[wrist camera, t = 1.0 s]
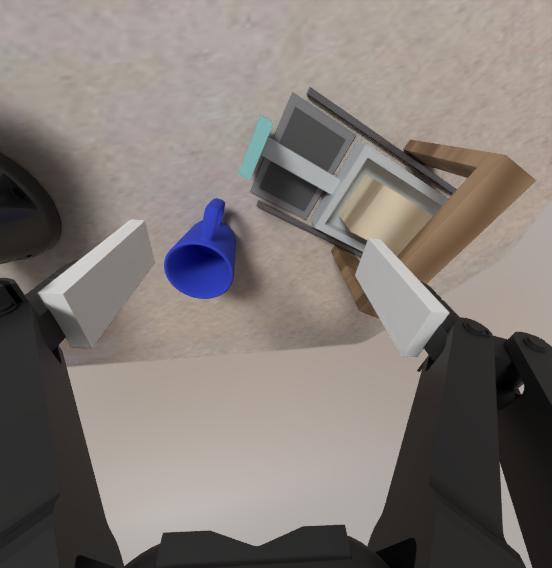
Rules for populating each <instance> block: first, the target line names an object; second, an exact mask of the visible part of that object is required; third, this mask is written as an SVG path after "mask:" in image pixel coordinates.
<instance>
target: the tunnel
mask: <svg viewBox="0 0 552 568" xmlns="http://www.w3.org/2000/svg"><path fill="white" fill-rule="evenodd" d="M403 150H405V151H406V152H408V153H409V154H410V155H412V156H413V157H415V158H416V159H417V160H419V161H420V162H422V163H423V164H425V165H427V166H430V167H433V168H437V169H440V170H443V171H447V172H450V173H453V174H456V175H460V176H463V177H466V178H467V179H466V180H465V182H464V183H463V184H462V185H461V186H460V187H459V188H458V189H457V190H456V191H455V193H454V194H453V195H452V196H451V197H450V198H449V199H448V200H447V201H446V203H445V204H444V205H443V206H442V207H441V208H440V209H439V210H438V211H437V212H436V214H435V215H434V216H433V217H432V218H431V219H430V220H429V221H428V222H427V224H426V225H425V226H424V227H423V228H422V229H421V230H420V231H419V232H418V234H417V235H416V236H415V237H414V238H413V239H412V240H411V241H410V242H409V243H408V245H407V246H406V247H405V248H404V249H403V250H402V251H401V252H400V253H399V255H398V256H397V258H398V259H399V260H400V261H401V262H402V263H403V264H404V265H405V266H406V267H407V268H408V269H409V270H410V271H411V272H412V273H413V274H414V276H415V277H416V278H417V279H418V280H420V281H422V282H424V283H425V284H427V283H428V282H429V281H430V280H431V279H432V278H433V277H434V276H435V275H436V274H437V273H438V272H440V271H441V270H442V269H443V268H444V267H445V266H446V265H447V264H448V263H449V262H450V261H451V260H452V259H453V258H454V257H456V256H457V255H458V254H459V253H460V252H461V251H462V250H463V249H464V248H465V247H466V246H467V245H468V244H469V243H470V242H472V241H473V240H474V239H475V238H476V237H477V236H478V235H479V234H480V233H481V232H482V231H483V230H484V229H485V228H486V227H488V226H489V225H490V224H491V223H492V222H493V221H494V220H495V219H496V218H497V217H498V216H499V215H500V214H501V213H502V212H504V211H505V210H506V209H507V208H508V207H509V206H510V205H511V204H512V203H513V202H514V201H515V200H516V199H517V198H518V197H520V196H521V195H522V194H523V193H524V192H525V191H526V190H527V189H528V188H529V187H530V186H531V185H532V184H533V183H534V182H536V180H535V179H534V178H533V177H532V176H530V175H529V174H528V173H527V172H526V171H524V170H523V169H522V168H521V167H520V166H518V165H517V164H516V163H515V162H514V161H512V160H511V159H510V158H509V157H508V156H506V155H502V154H496V153H490V152H483V151H477V150H471V149H465V148H458V147H452V146H446V145H440V144H434V143H427V142H421V141H415V140H410V141H409V142H408V144H407V145H406V146H405V148H404V149H403ZM331 252H332V254H333V256H334V258H335V260H336V262H337V264H338V267H339V269H340V271H341V273H342V275H343V277H344V279H345V281H346V283H347V286H348V288H349V290H350V292H351V294H352V296H353V298H354V300H355V303H356V305H357V307H358V309H359V311H361V312H364V313H366V314H369V315H371V316H374V317H376V318H378V319H380V318H379V316H378V315H377V313H376V311H375V309H374V308H373V306H372V304H371V302H370V301H369V299H368V297H367V296H366V294H365V292H364V290H363V289H362V287H361V285H360V283H359V282H358V280H357V278H356V276H355V274H356V271H357V268H358V265H359V263H360V262H359V260H358V258H357V257H356V255H355V254H353V253H351V252H349V251H347V250H345V249H343V248H341V247H338V246H336V245H335V246H334V248H333V249H332V250H331Z"/></svg>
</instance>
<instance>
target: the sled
mask: <svg viewBox="0 0 552 568" xmlns="http://www.w3.org/2000/svg"><path fill="white" fill-rule="evenodd" d="M272 125H273V123H272V122H271V121H270V120H268V119H267V118H265V117H263V116H260V118H259V120H258V123H257V126H256V128H255V131H254V134H253V136H252V139H251V141H250V144H249V147H248V149H247V152H246V155H245V157H244V160H243V163H242V165H241V168H240V170H239V173H238V174H239V175H241V176H243V177H245V178H247V179H249V180H250V179H251V176H252V174H253V171H254V169H255V167H256V164H257V162H258V159H259V157H260V155H261V156H263V157H265V158H267V159H269V160H270V161H272V162H274V163H276V164H278V165H279V166H281V167H283V168H285V169H286V170H288V171H290V172H292V173H294V174H295V175H297V176H299V177H301V178H302V179H304V180H306V181H308V182H310V183H311V184H313V185H315V186H317V187H319V188H320V189H322V190H324V191H326V192H327V193H326V195H325V197H324V198H323V200H322V201H321V203H320V205H319V206H318V208H317V210H316V211H315V213H314V215H313V216H312V218H311V221H312V223H313V226H314V228H316V229H318V230H320V231H322V232H324V233H326V234H328V235H330V236H332V237H334V238H336V239H338V240H340V241H342V242H344V243H346V244H348V245H350V246H352V247H354V248H356V249H358V250H360V251H362V252H364V249H365V246H366V243H367V240H366V239H364V238H362V237H360V236H358V235H356V234H354V233H352V232H351V231H350V230H349V229H348V227H347V226H346V224H345V223H344V222H343V220H342V219H341V218H340V216H339V214H340V212H341V211H342V209H343V208H344V206H345V205H346V203H347V202H348V200H349V199H350V197H351V196H352V194H353V193H354V191H355V190H356V188H357V187H358V185H359V184H360V182H361V181H362V179H363V178H364V176H365V175H368V176H370V177H371V178H373V179H375V180H377V181H378V182H380V183H382V184H383V185H385V186H387V187H388V188H390V189H391V190H393V191H395V192H396V193H398V194H399V195H401V196H403V197H404V198H406V199H407V200H409V201H411V202H412V203H414V204H415V205H417V206H419V207H420V208H422V209H423V210H425V211H427V212H428V213H430V214H432V215H433V216H434V215H435V214H436V212H437V211H438V210H439V209H440V208H441V207H442V206H443V205H444V204H445V203H446V201H447V200H448V198H446V197H445V196H443V195H442V194H440V193H439V192H438V191H436V190H435V189H433V188H432V187H430V186H429V185H427V184H426V183H424V182H423V181H421V180H420V179H418V178H417V177H415V176H414V175H412V174H411V173H409V172H408V171H406V170H405V169H403V168H402V167H400V166H399V165H397V164H396V163H394V162H393V161H391V160H390V159H388V158H387V157H385V156H384V155H382V154H381V153H379V152H378V151H376V150H375V149H373V148H372V147H370V146H369V145H367V144H365V143H361V142H357V144H356V145H355V147H354V149H353V150H352V152H351V154H350V155H349V157H348V158H347V160H346V162H345V163H344V165H343V167H342V168H341V170H340V172H339V173H338V175H337V177H336V176H334V175H332V174H330V173H329V172H327V171H325V170H324V169H322V168H320V167H319V166H317V165H315V164H314V163H312V162H310V161H308V160H307V159H305V158H303V157H302V156H300V155H298V154H297V153H295V152H293V151H292V150H290V149H288V148H286V147H285V146H283V145H281V144H280V143H278V142H276V141H275V140H273V139H271V138H270V137H268V135H269V133H270V130H271V128H272Z"/></svg>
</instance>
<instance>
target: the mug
mask: <svg viewBox="0 0 552 568" xmlns="http://www.w3.org/2000/svg"><path fill="white" fill-rule="evenodd" d="M224 208H225V202H224V201H223V200H221V199H217V198H216V199H213V200H212V201H211V202H210V203H209V204H208V205H207V206H206V208H205V212H204V218H203V221H200V222H198V223H197V224H195V225H194V226H193V227H192V228H191V229H190V230H189V231H188V232H187V233H186V234H185V235H184V236H183V237H182V238H181V239H180V240H179V241H178V242H177V243H176V244H175V245H174V246H173V248H172V249H171V250H170V251H169V252H168V253H167V255H166V258H165V262H164V269H165V273H166V276H167V278H168V280H169V281H170V282H171V284H172V285H173V286H174V287H175V288H176V289H178V290H179V291H180V292H182V293H184V294H186V295H188V296H191V297H194V298H200V299H209V298H214V297H217V296H220V295H221V294H223V293H224V292H226V291H227V290H228V289H229V287H230V286H231V284H232V281H233V277H234V264H235V251H236V240H235V236H234V234H233V232H232V231H231V229H230V228H229V227H228V226H227V225H226V224H224V223H222V222H221V220H222V217H223V213H224Z"/></svg>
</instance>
